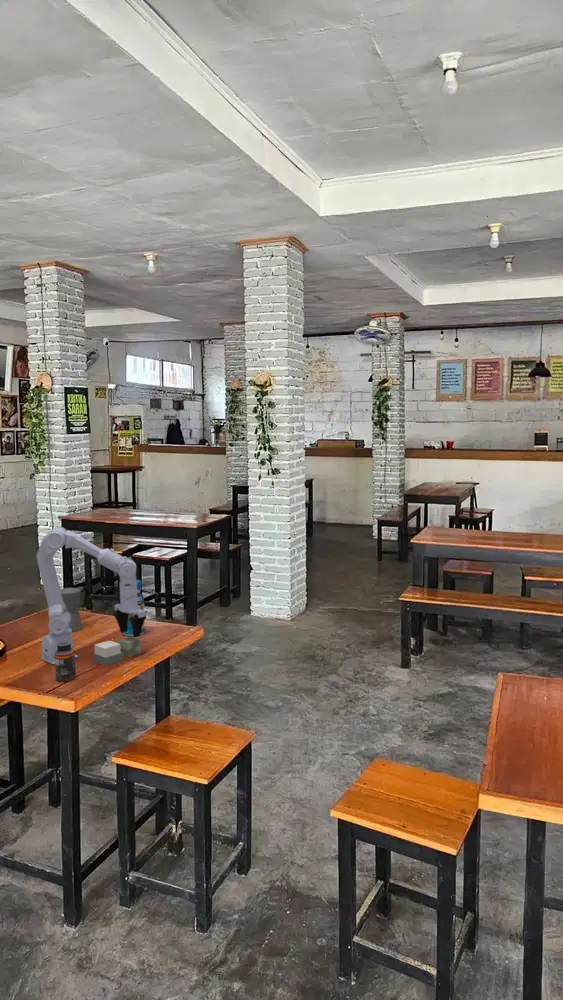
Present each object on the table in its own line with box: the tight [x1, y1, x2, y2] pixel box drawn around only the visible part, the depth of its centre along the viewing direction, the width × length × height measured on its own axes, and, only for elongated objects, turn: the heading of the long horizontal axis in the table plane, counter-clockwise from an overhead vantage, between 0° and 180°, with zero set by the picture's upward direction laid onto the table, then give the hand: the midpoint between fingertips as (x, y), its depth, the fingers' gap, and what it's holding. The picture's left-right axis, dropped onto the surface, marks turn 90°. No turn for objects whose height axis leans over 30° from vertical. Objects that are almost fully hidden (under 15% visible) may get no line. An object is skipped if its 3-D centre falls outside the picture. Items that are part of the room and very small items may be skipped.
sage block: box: [119, 636, 142, 658], centre depth 241 cm, size 5×5×5 cm
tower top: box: [94, 639, 121, 657], centre depth 234 cm, size 6×6×3 cm
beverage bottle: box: [122, 579, 146, 637], centre depth 262 cm, size 8×8×20 cm
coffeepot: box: [60, 582, 91, 633], centre depth 270 cm, size 15×9×18 cm, turn 133°
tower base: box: [93, 652, 125, 667], centre depth 234 cm, size 7×7×3 cm
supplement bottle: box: [54, 642, 77, 682], centre depth 218 cm, size 6×6×11 cm
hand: (130, 634), depth 240 cm, fingers open, 7 cm apart
